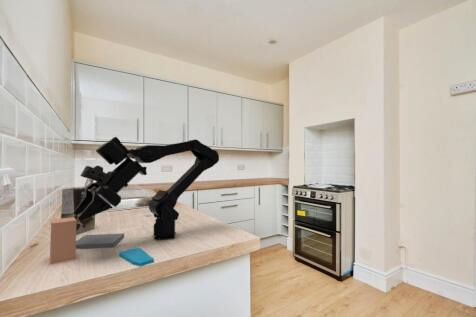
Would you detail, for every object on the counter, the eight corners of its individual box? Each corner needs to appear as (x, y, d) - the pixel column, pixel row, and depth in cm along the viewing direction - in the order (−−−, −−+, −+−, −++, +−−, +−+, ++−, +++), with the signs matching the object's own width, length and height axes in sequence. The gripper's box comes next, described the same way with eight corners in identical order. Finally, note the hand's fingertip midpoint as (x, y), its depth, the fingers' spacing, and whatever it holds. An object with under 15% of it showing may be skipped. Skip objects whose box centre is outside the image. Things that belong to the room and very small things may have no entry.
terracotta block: (73, 253, 64) (74, 217, 64) (75, 258, 60) (76, 220, 60) (49, 258, 60) (51, 219, 61) (50, 264, 57) (52, 223, 57)
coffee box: (74, 235, 80) (76, 189, 81) (59, 234, 81) (61, 188, 82) (95, 228, 89) (96, 187, 90) (81, 227, 90) (82, 186, 91)
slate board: (124, 236, 79) (124, 233, 79) (113, 246, 69) (113, 242, 69) (85, 238, 77) (85, 234, 77) (69, 249, 67) (69, 245, 67)
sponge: (130, 266, 54) (155, 257, 58) (117, 252, 63) (139, 244, 67) (131, 272, 54) (155, 263, 58) (118, 257, 63) (139, 250, 67)
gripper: (95, 157, 74) (49, 194, 66) (109, 155, 60) (53, 201, 52) (120, 181, 79) (81, 217, 71) (139, 184, 65) (92, 230, 57)
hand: (76, 216), depth 62 cm, fingers open, 9 cm apart
